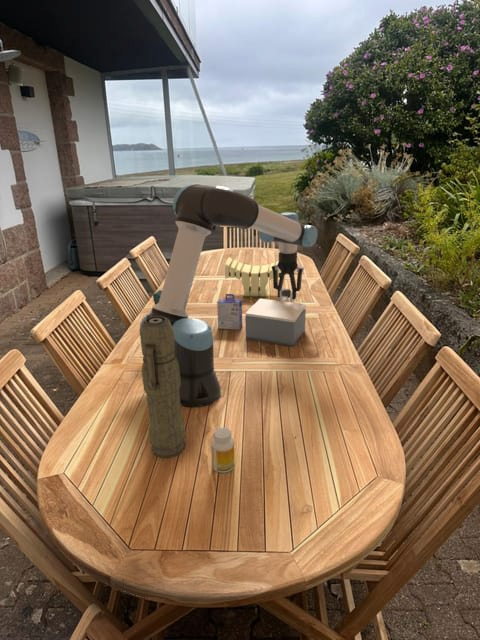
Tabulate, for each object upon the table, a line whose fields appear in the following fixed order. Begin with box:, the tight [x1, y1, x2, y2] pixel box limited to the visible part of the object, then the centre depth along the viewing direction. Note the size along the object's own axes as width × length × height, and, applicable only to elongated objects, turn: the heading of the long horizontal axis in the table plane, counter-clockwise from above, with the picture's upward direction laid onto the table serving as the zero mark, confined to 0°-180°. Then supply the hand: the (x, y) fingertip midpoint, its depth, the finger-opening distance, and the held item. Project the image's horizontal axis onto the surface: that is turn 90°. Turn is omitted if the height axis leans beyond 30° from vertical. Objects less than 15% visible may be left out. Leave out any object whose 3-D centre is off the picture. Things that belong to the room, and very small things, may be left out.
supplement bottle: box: [210, 427, 235, 474], centre depth 99 cm, size 5×5×10 cm
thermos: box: [139, 316, 186, 459], centre depth 101 cm, size 9×12×35 cm
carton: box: [244, 308, 307, 348], centre depth 170 cm, size 16×20×10 cm
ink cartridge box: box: [216, 293, 243, 331], centre depth 178 cm, size 10×6×14 cm, turn 78°
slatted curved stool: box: [224, 256, 281, 298], centre depth 220 cm, size 30×16×18 cm, turn 84°
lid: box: [245, 288, 307, 322], centre depth 171 cm, size 24×20×4 cm
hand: (286, 305), depth 181 cm, fingers closed on lid, 4 cm apart
